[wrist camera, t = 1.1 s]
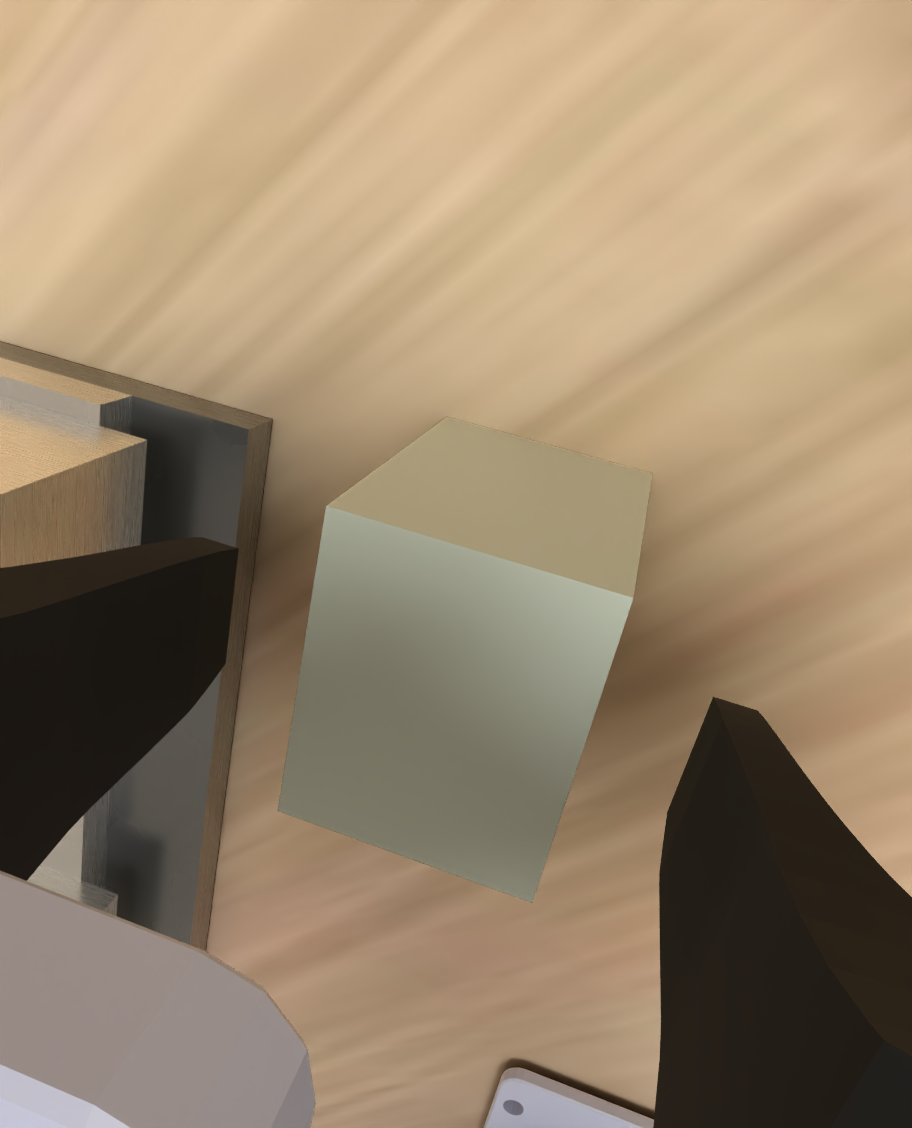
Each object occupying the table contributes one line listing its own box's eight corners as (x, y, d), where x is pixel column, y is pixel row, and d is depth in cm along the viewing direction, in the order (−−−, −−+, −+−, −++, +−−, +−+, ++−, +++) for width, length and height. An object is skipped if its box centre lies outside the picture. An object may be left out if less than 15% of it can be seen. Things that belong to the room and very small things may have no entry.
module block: (580, 697, 18) (531, 902, 12) (400, 640, 18) (277, 810, 13) (652, 472, 16) (633, 598, 10) (447, 416, 16) (326, 505, 11)
